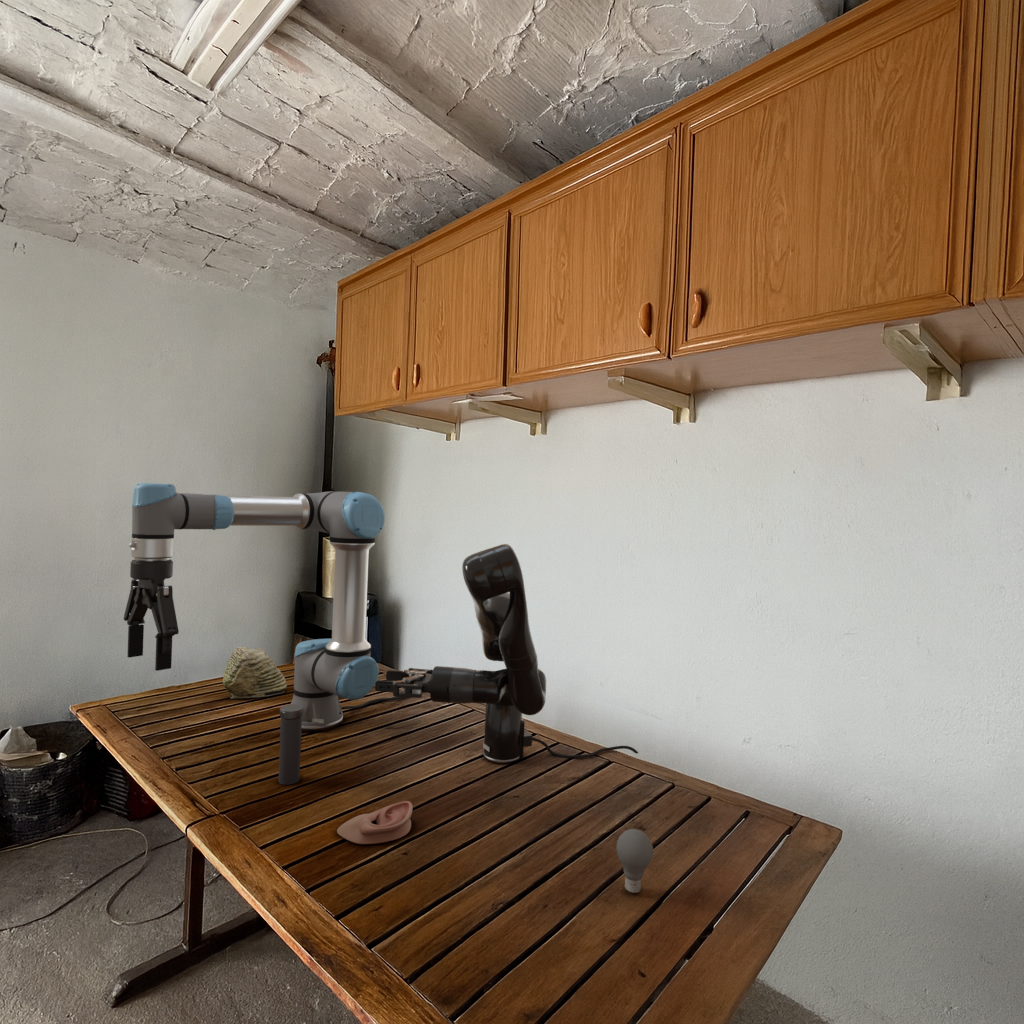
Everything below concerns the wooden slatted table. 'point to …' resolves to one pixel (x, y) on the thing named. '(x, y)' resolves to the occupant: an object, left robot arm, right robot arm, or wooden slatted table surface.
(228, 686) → the fossil
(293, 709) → the lid
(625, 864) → the light bulb
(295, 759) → the dark grey cylinder
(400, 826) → the anatomical model
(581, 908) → the wooden slatted table surface
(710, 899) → the wooden slatted table surface
